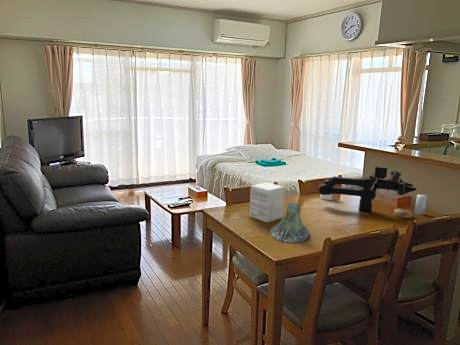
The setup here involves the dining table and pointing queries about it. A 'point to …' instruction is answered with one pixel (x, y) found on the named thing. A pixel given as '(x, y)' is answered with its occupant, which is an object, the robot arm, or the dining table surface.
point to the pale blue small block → (420, 204)
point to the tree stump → (291, 226)
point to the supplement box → (266, 201)
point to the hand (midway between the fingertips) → (414, 187)
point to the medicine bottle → (327, 197)
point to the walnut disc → (402, 213)
